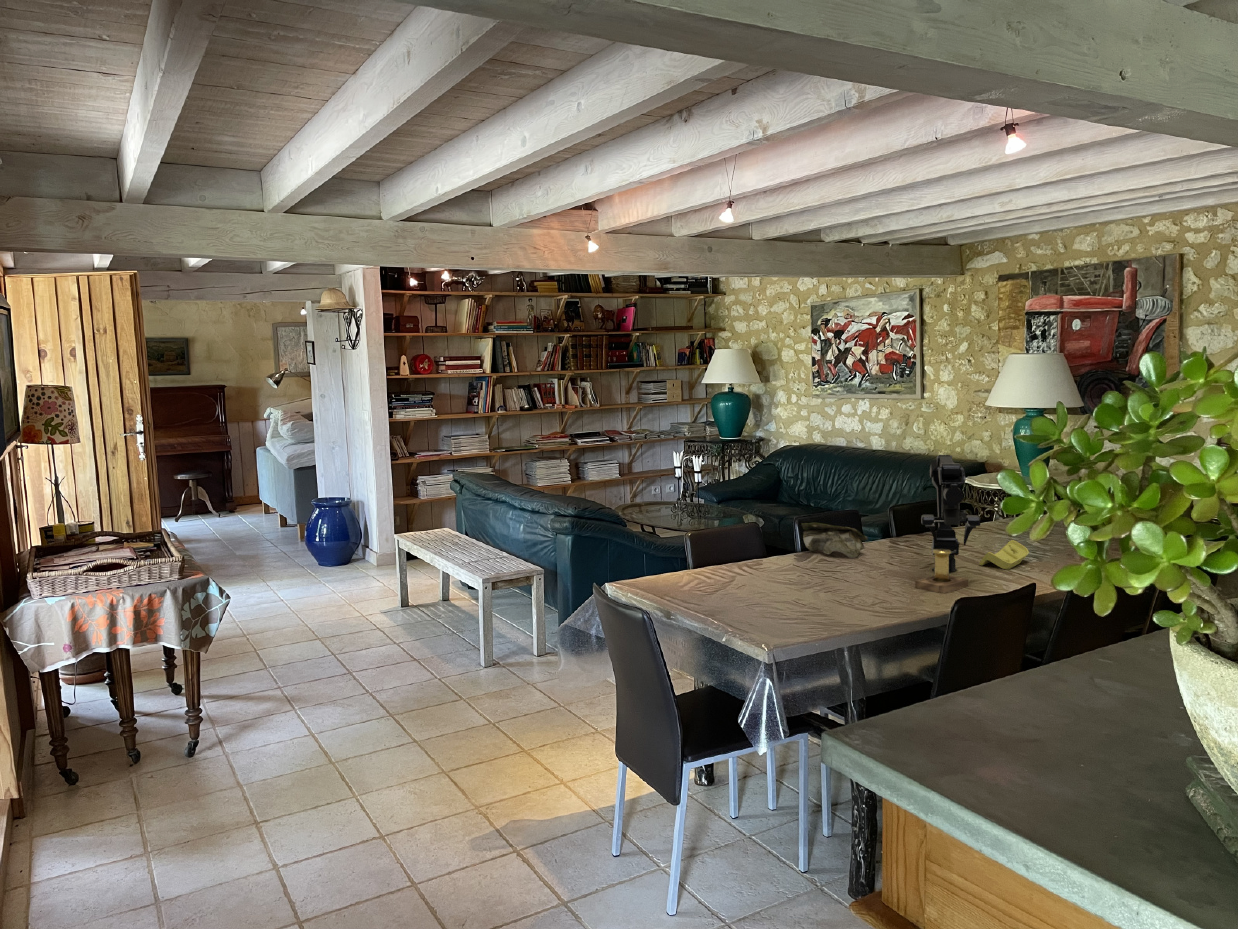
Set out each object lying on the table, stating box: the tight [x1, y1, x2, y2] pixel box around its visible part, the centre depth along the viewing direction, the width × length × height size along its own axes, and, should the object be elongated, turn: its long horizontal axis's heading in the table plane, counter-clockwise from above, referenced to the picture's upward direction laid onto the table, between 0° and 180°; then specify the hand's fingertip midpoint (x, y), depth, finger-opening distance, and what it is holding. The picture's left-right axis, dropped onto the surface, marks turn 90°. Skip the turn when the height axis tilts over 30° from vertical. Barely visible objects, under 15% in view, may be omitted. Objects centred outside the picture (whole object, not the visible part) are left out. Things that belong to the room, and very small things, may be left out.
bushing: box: [933, 549, 951, 582], centre depth 302 cm, size 6×6×12 cm
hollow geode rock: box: [801, 521, 868, 559], centre depth 359 cm, size 28×13×15 cm
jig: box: [914, 574, 969, 594], centre depth 302 cm, size 11×14×2 cm
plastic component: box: [979, 539, 1030, 570], centre depth 333 cm, size 20×7×10 cm
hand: (950, 544), depth 308 cm, fingers open, 9 cm apart
